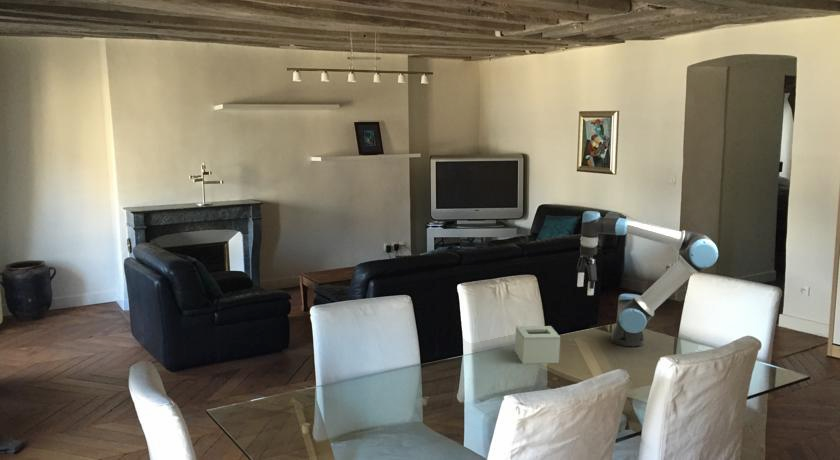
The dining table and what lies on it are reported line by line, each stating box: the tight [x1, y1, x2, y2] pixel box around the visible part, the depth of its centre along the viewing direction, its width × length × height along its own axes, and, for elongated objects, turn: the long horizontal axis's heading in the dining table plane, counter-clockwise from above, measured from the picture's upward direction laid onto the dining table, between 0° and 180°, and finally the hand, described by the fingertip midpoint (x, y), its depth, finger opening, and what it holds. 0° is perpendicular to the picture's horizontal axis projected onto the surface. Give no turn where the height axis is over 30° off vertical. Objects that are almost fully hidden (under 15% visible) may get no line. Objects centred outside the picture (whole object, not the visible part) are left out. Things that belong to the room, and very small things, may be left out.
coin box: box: [514, 325, 561, 365], centre depth 318 cm, size 16×14×12 cm
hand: (585, 290), depth 330 cm, fingers open, 13 cm apart
